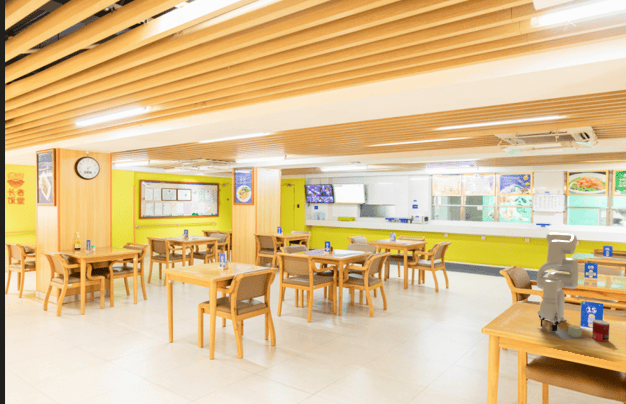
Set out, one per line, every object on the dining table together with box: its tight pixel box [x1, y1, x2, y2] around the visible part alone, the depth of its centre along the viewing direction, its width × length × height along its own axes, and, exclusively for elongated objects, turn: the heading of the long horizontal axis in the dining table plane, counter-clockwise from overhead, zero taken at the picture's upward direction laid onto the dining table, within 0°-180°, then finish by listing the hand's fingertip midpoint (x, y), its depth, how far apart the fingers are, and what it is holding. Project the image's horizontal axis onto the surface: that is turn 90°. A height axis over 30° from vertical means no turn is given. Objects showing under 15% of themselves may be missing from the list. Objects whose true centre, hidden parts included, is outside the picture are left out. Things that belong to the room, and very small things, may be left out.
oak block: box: [541, 319, 555, 333], centre depth 250 cm, size 5×5×6 cm
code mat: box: [538, 326, 586, 341], centre depth 246 cm, size 20×16×1 cm
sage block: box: [567, 325, 583, 337], centre depth 243 cm, size 5×5×5 cm
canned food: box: [591, 319, 610, 343], centre depth 237 cm, size 8×8×11 cm
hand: (548, 328), depth 250 cm, fingers open, 7 cm apart
